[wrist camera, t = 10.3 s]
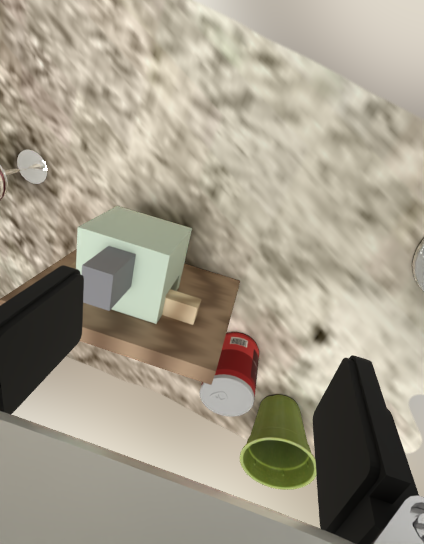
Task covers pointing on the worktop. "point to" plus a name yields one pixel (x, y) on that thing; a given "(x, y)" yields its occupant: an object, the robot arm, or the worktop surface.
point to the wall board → (165, 324)
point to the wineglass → (25, 170)
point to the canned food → (233, 377)
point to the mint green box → (131, 261)
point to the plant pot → (278, 446)
